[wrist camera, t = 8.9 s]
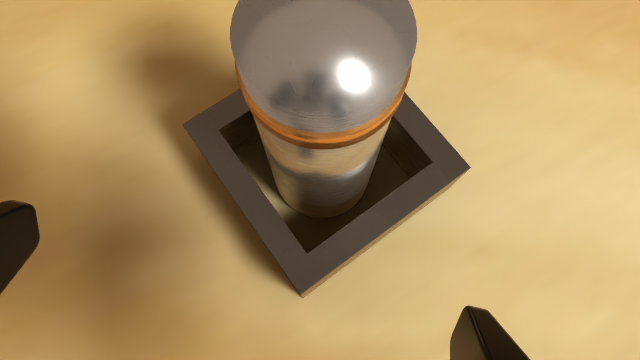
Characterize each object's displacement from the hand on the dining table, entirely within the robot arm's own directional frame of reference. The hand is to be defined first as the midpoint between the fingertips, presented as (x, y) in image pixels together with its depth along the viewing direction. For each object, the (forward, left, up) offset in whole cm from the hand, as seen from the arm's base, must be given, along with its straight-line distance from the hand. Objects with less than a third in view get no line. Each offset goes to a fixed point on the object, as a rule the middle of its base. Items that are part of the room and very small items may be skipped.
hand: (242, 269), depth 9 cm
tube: (+4, -5, -13) cm, 14 cm away
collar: (+4, -5, -13) cm, 15 cm away
